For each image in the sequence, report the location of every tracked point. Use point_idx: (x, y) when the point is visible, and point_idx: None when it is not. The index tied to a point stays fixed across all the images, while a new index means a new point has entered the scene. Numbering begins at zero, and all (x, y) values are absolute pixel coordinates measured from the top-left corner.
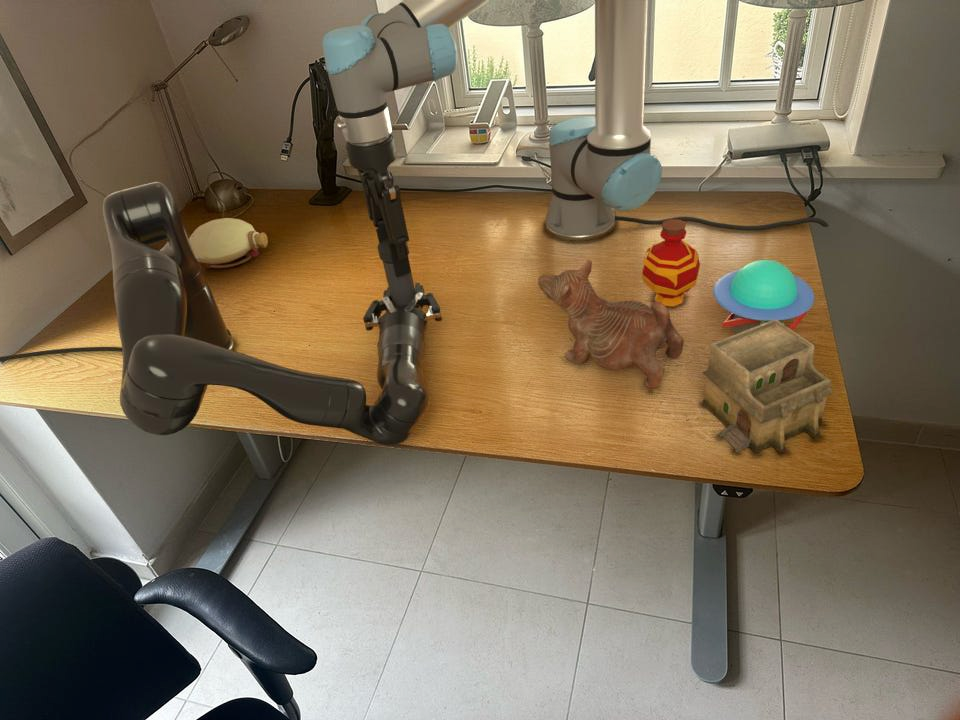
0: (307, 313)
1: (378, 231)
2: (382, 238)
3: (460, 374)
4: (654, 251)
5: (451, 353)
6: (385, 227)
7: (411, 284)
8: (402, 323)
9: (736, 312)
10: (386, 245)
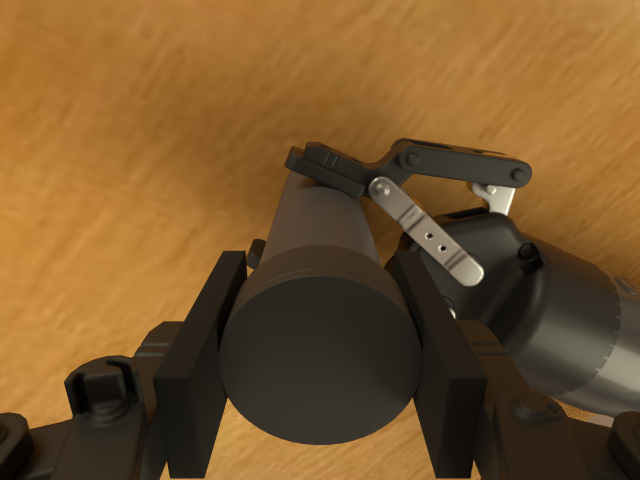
0: None
1: (205, 466)
2: (220, 403)
3: (608, 165)
4: None
5: (513, 145)
6: (183, 421)
7: (363, 219)
8: (605, 352)
9: None
10: (307, 398)
